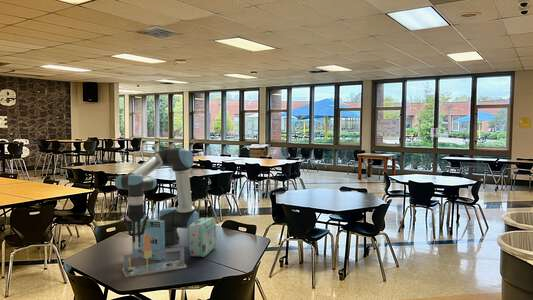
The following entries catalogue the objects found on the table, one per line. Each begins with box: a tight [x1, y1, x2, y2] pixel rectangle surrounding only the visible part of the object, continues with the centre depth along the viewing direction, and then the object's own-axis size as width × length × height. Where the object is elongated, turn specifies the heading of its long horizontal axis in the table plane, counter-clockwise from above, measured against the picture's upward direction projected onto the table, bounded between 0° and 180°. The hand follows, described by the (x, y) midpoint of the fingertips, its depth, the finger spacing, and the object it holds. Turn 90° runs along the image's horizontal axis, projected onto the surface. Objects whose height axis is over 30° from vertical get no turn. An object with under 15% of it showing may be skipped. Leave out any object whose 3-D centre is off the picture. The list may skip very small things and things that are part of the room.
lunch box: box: [187, 217, 217, 258], centre depth 248 cm, size 27×10×21 cm, turn 168°
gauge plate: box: [121, 259, 188, 278], centre depth 218 cm, size 11×32×2 cm, turn 118°
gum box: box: [131, 218, 166, 261], centre depth 237 cm, size 20×5×23 cm, turn 72°
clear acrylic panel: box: [122, 246, 185, 272], centre depth 218 cm, size 2×32×9 cm, turn 118°
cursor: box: [142, 234, 152, 268], centre depth 216 cm, size 4×4×18 cm
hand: (136, 248), depth 213 cm, fingers closed
